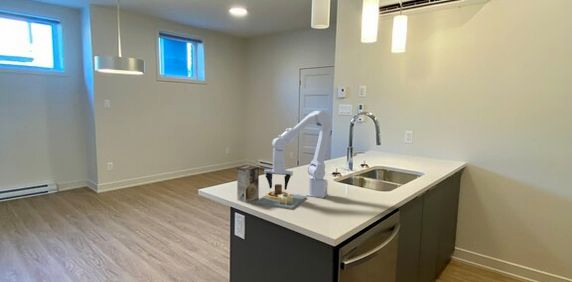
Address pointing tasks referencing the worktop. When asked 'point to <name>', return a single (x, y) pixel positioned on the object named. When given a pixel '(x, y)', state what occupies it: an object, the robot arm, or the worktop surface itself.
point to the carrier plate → (275, 203)
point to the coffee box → (247, 183)
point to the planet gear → (277, 190)
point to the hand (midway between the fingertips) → (278, 188)
